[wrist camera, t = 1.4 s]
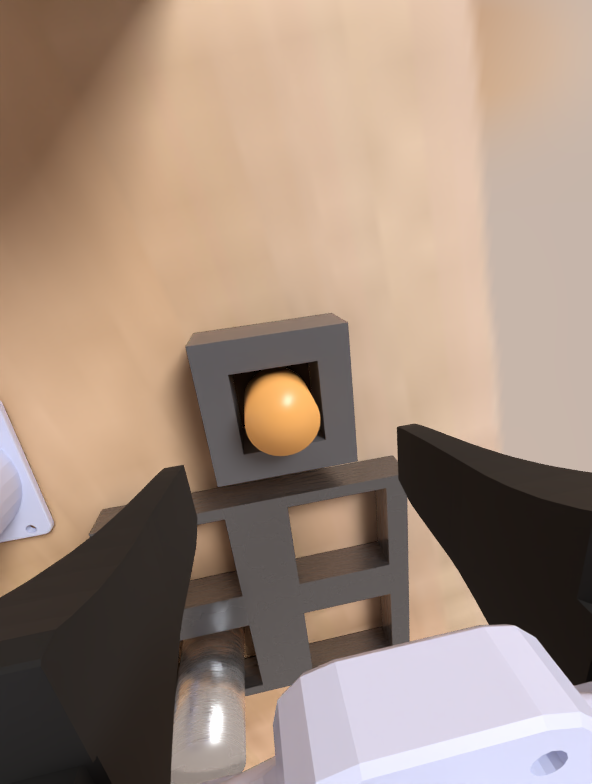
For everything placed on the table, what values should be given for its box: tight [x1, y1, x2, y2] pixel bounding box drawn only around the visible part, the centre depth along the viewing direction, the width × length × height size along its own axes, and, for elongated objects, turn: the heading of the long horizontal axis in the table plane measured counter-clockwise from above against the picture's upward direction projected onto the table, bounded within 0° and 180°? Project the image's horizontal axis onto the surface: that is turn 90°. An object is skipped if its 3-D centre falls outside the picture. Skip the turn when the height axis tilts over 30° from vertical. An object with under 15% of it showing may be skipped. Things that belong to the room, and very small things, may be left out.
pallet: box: [89, 456, 409, 696], centre depth 23 cm, size 17×15×2 cm
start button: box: [244, 367, 320, 456], centre depth 17 cm, size 3×3×3 cm
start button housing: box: [186, 313, 358, 487], centre depth 18 cm, size 7×7×3 cm
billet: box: [171, 627, 246, 784], centre depth 22 cm, size 4×4×7 cm
